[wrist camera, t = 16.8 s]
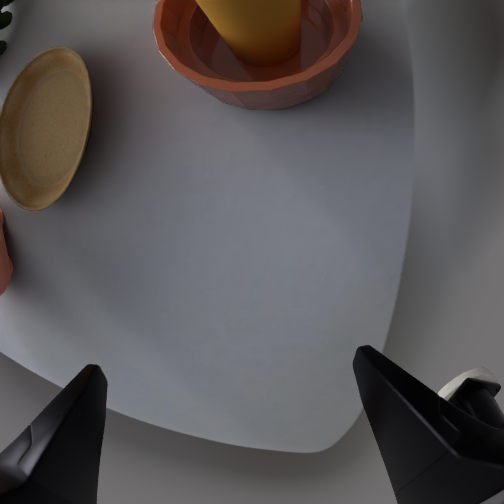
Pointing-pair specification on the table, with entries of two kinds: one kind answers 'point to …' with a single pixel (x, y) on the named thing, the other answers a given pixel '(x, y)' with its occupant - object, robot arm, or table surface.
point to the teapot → (4, 260)
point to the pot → (254, 77)
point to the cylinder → (257, 28)
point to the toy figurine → (4, 21)
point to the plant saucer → (45, 127)
